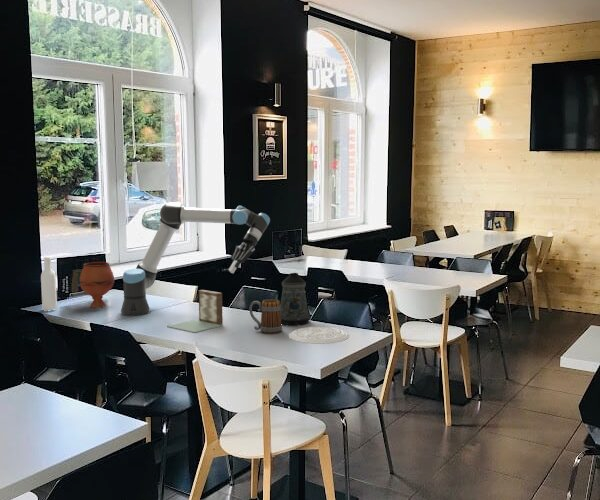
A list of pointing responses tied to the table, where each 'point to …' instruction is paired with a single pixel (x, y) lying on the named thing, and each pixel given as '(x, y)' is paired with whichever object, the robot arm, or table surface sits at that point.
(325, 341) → the ceiling medallion
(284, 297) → the beer stein
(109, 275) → the goblet
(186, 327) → the mat
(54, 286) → the bottle
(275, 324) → the mug
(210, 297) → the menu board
